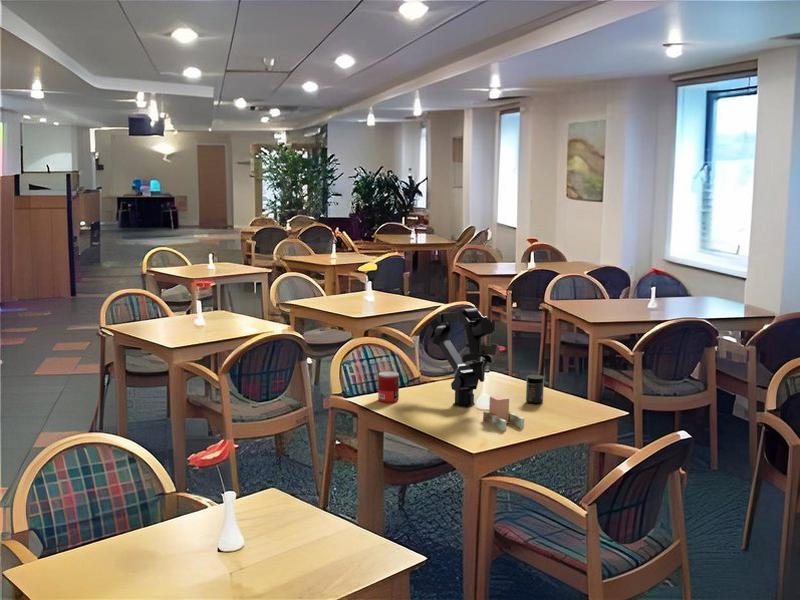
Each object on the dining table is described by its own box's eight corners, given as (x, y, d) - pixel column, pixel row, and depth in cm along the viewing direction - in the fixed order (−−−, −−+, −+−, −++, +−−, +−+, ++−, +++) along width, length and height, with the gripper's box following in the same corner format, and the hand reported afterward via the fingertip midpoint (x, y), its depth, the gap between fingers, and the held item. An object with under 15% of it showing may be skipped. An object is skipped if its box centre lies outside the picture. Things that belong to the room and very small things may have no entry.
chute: (483, 420, 305) (483, 411, 304) (503, 418, 309) (503, 408, 308) (503, 431, 293) (503, 421, 293) (524, 427, 297) (524, 418, 297)
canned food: (398, 403, 326) (398, 376, 325) (377, 403, 326) (377, 375, 325) (398, 398, 334) (399, 371, 332) (378, 398, 334) (378, 370, 332)
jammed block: (489, 420, 305) (489, 396, 303) (500, 419, 307) (501, 395, 306) (496, 424, 300) (497, 400, 299) (508, 422, 303) (509, 398, 301)
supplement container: (541, 405, 325) (542, 379, 324) (524, 404, 328) (525, 378, 326) (544, 401, 332) (545, 375, 330) (527, 399, 334) (528, 374, 332)
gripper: (485, 333, 304) (493, 376, 301) (502, 338, 321) (510, 378, 317) (457, 340, 308) (465, 382, 305) (475, 344, 325) (483, 384, 322)
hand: (482, 381), depth 312 cm, fingers closed
